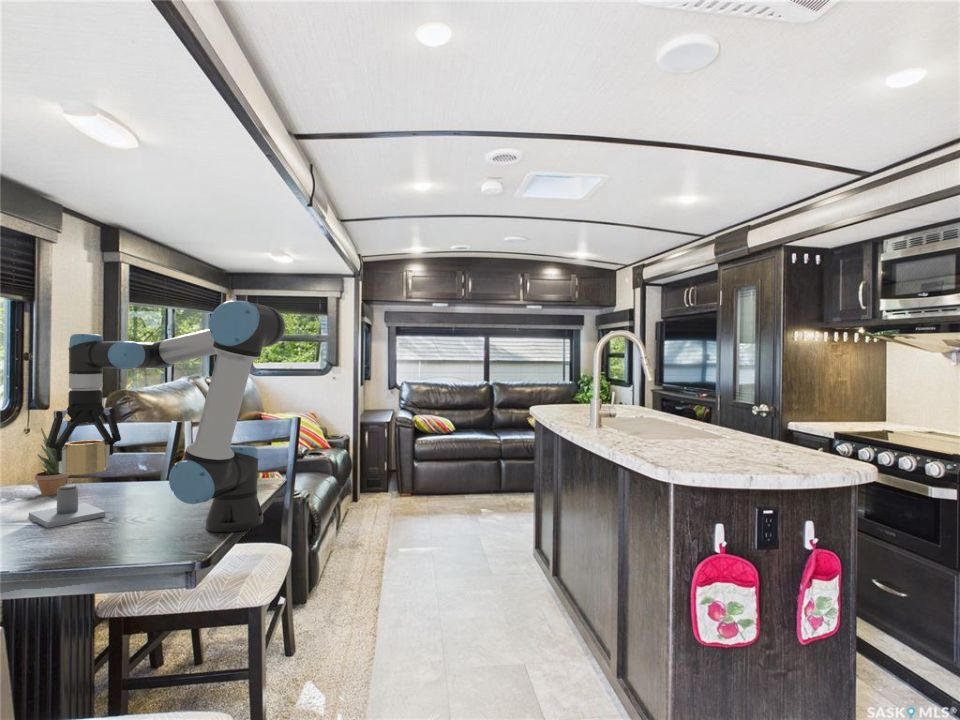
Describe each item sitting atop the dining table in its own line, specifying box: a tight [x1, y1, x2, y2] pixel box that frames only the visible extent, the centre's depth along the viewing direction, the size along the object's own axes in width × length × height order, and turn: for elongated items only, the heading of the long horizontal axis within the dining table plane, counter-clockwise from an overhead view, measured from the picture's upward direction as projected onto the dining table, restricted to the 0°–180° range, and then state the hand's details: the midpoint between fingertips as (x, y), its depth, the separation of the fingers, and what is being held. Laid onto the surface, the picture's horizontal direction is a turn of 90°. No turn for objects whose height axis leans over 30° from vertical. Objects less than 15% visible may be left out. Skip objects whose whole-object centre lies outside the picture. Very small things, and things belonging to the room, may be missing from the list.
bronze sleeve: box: [63, 439, 107, 476], centre depth 144 cm, size 9×9×8 cm
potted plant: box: [34, 427, 70, 496], centre depth 183 cm, size 10×10×25 cm
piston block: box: [28, 484, 106, 529], centre depth 156 cm, size 16×14×9 cm
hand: (84, 470), depth 144 cm, fingers closed on bronze sleeve, 9 cm apart
